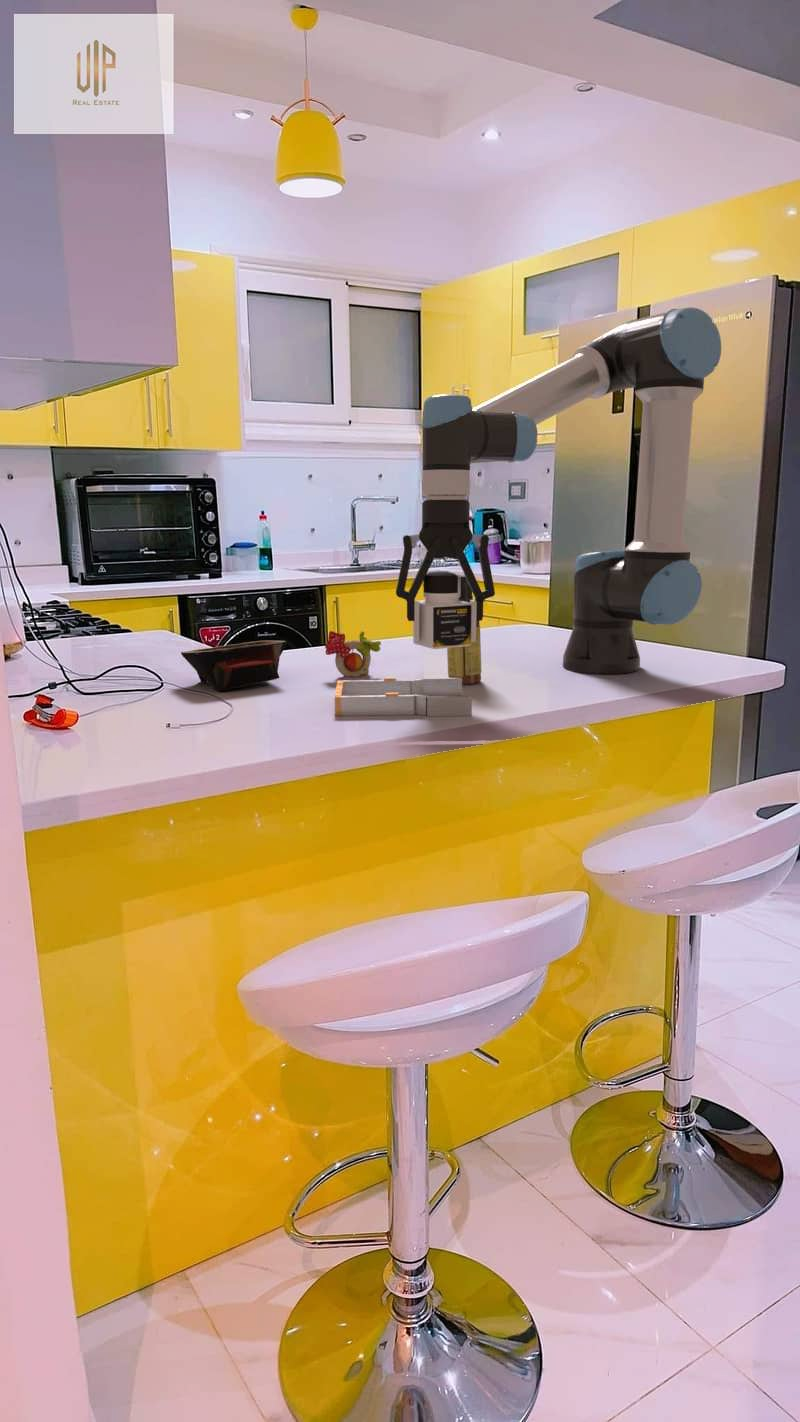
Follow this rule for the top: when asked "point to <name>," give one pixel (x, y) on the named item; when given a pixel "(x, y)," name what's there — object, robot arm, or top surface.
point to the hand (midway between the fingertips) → (444, 640)
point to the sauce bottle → (466, 649)
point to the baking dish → (237, 663)
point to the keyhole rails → (402, 697)
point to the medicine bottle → (443, 613)
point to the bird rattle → (351, 661)
